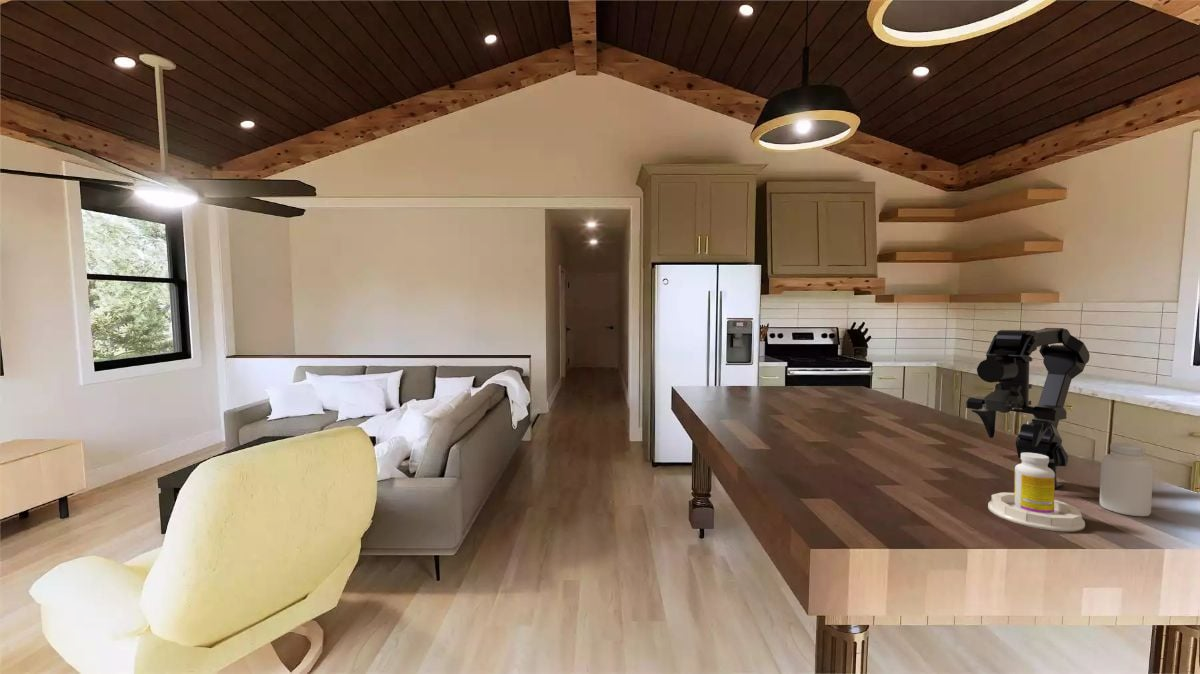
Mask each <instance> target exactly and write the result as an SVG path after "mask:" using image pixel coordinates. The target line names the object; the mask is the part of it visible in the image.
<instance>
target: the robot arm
mask: <svg viewBox="0 0 1200 674" xmlns="http://www.w3.org/2000/svg"><path fill="white" fill-rule="evenodd" d="M1038 347H1040V348H1039V350H1037V349H1038ZM1035 351H1039V353H1040V355H1041V356H1042V358H1043V360H1042V361H1043V365H1044V367H1045V369H1046V371H1047V375H1046V378H1045V381H1044V385H1043V388H1042V390H1041V394H1040V398H1039V401H1038V404H1037V405H1035V406H1033V405H1032V400H1029V396H1030V394H1029V392H1030V391H1029V390H1030V389H1032V387H1033V386H1032V384H1031V383H1030V363H1031V362H1033V360H1034V359H1033V358H1032V357H1031V355H1032V354H1033V352H1035ZM985 357H986V358H985V359H984V360H982V361H980V362H979V364H978V365H977V367H976V373H977V375H978V377H979V378H980V379H981V380H982V381H984V382H986V383H991V384H992V383H995V386H994V390H993V391H991V392H990V393H988V394H986V396H979V395H978V396H971V397H968V398H967V399H966V401H965V408H966V409H970V410H971V413H975V414H976V415H977V416H979V418H980V420H981V422H982V423H983V426H984V428H985V431H986V433H987V435H988V438H990V439H993V438H994V436H995V432H996V418H997V412H998V413H999V412H1000V413H1003V414H1005V413H1006V414H1007V413H1010V412H1016V413H1022V414H1029V415H1030V414H1031V415H1033V418H1031V422H1030V423H1023V424H1021V426H1020V431H1019V434H1018V435H1017V437H1016V439H1015V447H1016V453H1017V458H1018V459H1021V453H1037V454H1042V455H1046V456H1048V457H1049V463H1048V464H1047V465H1048V468H1050V469H1052V470H1053V471H1054V473H1055V489H1057V488H1061V487H1064V484H1063V483H1062V482H1061V483H1060V482H1057V481H1058V479H1057V477H1058V471H1057V470H1058V467H1067V464H1068V462H1069V455H1068V454H1067V451H1066V450H1065V448H1064V447H1063V445H1062V443H1063V439H1062V437H1061V435H1060V433H1059V431H1058V426H1059V422H1060V420H1061V421H1062V420H1066V419H1067V410H1066V408H1064V405H1065V403H1066V399H1067V397H1068V393H1069V390H1070V386H1071V383H1072V380H1073V379H1075V377H1077V376H1078V375H1080V374H1081V373H1082V372H1084V369H1085V367H1086V365H1087V364H1088V362H1089V361H1090V357H1091V356H1090V351H1089V350H1088V348H1087V346H1086V345H1085V342H1084V341H1081V340H1080V339H1078V338H1077V337H1076V336H1073V335H1071V333H1070V331H1069V330H1068V329H1067V328H1063V327H1045V328H1041V329H1036V330H1029V329H1026V330H1025V329H1022V330H1021V329H1000V330H998V331H997V332H996V334H994V336H993V337H992V341H991V342H990V344H989V347H988V349H987V351H986V353H985Z"/></svg>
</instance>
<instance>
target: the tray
mask: <svg viewBox="0 0 1200 674" xmlns="http://www.w3.org/2000/svg"><path fill="white" fill-rule="evenodd" d="M987 504H988V505H987V508H988V511H989V512H990V513H992V514H993V515H995V516H996V517H998V518H1001V519H1003V520H1006V521H1008V522H1011V523H1015V524H1017V525H1021V526H1025V527H1030V528H1033V529H1038V530H1044V531H1051V532H1060V533H1061V532H1062V533H1066V532H1067V533H1071V532H1074V533H1075V532H1080V531H1083V530H1084V529H1086V522H1085V520H1084V518H1083V515H1082V514H1083V513H1081V511H1080V509H1079V508H1077V507H1075V506H1073V505H1071V504H1068V503H1066V502H1063V501H1060V500H1057V499H1054V515H1047V514H1041V513H1035V512H1030V511H1026V510H1022V509H1019V508H1016V507H1014V492H1005V491H1004V492H997V493H994V494H991V500H990V501H989V502H988V503H987Z"/></svg>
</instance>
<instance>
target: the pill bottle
mask: <svg viewBox="0 0 1200 674" xmlns="http://www.w3.org/2000/svg"><path fill="white" fill-rule="evenodd" d="M1109 449H1110V450H1109V452H1110V453H1108V454H1104V455H1103V456H1102V457H1101V462H1100V479H1099V480H1100V483H1099V505H1100V507H1102V508H1104V509H1106V510H1108V511H1111V512H1114V513H1117V514H1120V515H1126V516H1132V517H1149V516H1150V515H1151V512H1152V497H1153V495H1152V494H1153V475H1154V467H1153V464H1152V462H1150V460H1148V459H1145V454H1146V449H1145V447H1144V446H1141V445H1137V444H1132V443H1128V442H1127V443H1126V442H1124V443H1123V442H1111V443H1110V444H1109Z"/></svg>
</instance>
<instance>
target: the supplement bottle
mask: <svg viewBox="0 0 1200 674" xmlns="http://www.w3.org/2000/svg"><path fill="white" fill-rule="evenodd" d="M1020 460H1021V463H1018V464H1015V467H1014V491H1013V493H1014V507H1016V508H1019V509H1022V510H1026V511H1030V512H1035V513H1041V514H1047V515H1054V500H1055V489H1056V488H1055V473H1054V471H1053V470H1052V469H1050V468H1048V465H1047V464H1048V463H1049V457H1048V456H1046V455H1042V454H1037V453H1021V458H1020Z"/></svg>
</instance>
